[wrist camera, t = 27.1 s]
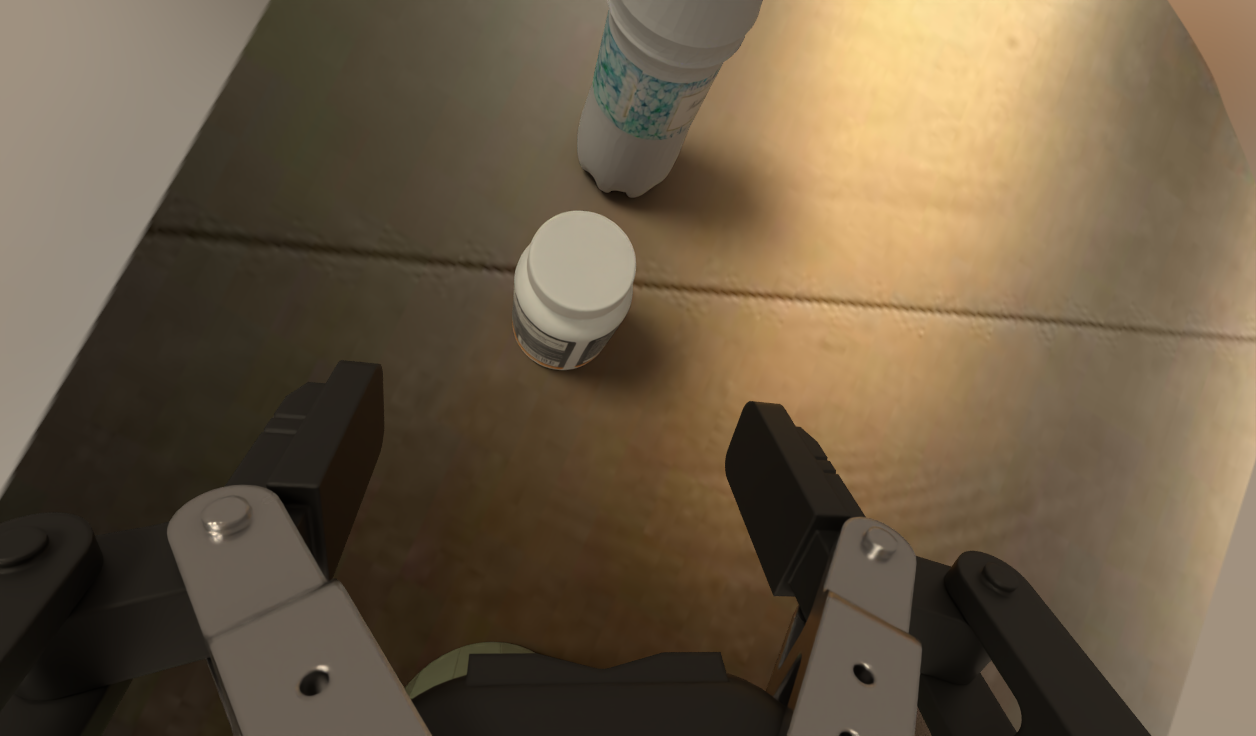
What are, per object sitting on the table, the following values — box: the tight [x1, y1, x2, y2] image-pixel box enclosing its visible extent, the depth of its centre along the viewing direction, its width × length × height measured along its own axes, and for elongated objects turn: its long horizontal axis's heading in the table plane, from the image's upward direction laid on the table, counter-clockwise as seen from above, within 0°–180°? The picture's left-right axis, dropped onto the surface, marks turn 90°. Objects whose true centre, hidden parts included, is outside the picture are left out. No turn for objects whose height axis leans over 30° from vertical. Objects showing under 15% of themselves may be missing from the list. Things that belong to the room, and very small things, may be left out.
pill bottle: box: [512, 211, 636, 370], centre depth 28 cm, size 6×6×10 cm
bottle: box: [577, 0, 763, 198], centre depth 27 cm, size 7×7×20 cm
